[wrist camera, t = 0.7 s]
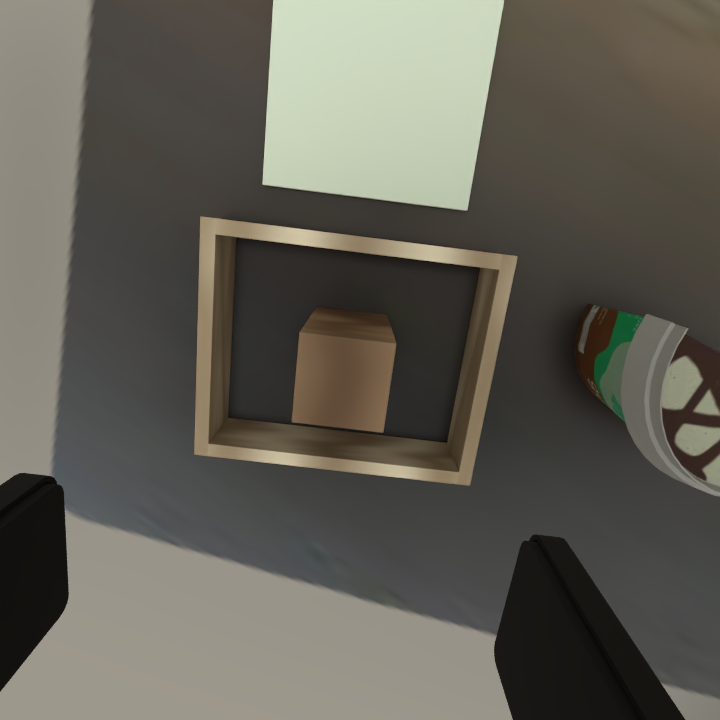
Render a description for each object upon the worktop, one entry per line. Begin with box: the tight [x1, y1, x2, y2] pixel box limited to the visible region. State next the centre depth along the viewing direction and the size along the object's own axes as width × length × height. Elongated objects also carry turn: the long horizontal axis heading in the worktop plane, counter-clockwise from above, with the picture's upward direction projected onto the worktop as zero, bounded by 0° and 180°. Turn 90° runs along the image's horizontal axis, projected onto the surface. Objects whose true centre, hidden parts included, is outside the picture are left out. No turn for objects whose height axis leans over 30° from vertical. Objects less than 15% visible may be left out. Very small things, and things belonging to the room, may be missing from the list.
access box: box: [194, 216, 518, 486], centre depth 27 cm, size 17×14×4 cm
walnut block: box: [292, 306, 396, 433], centre depth 25 cm, size 4×4×8 cm
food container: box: [574, 304, 720, 496], centre depth 25 cm, size 12×6×10 cm, turn 63°
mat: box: [263, 0, 504, 211], centre depth 25 cm, size 12×12×1 cm
